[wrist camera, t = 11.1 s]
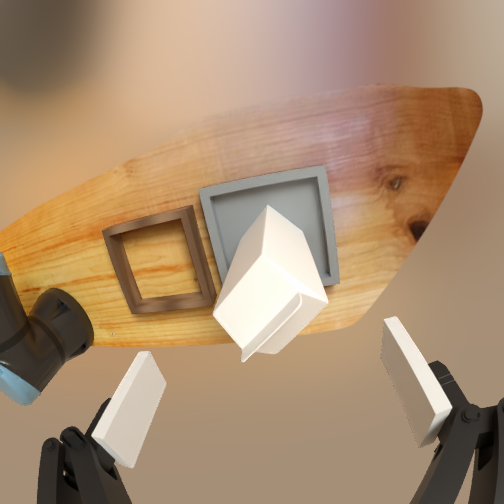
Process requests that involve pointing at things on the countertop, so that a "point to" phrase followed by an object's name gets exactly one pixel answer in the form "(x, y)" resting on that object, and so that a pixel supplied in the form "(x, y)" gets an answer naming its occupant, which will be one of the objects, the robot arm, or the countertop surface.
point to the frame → (197, 254)
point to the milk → (270, 287)
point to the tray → (284, 202)
